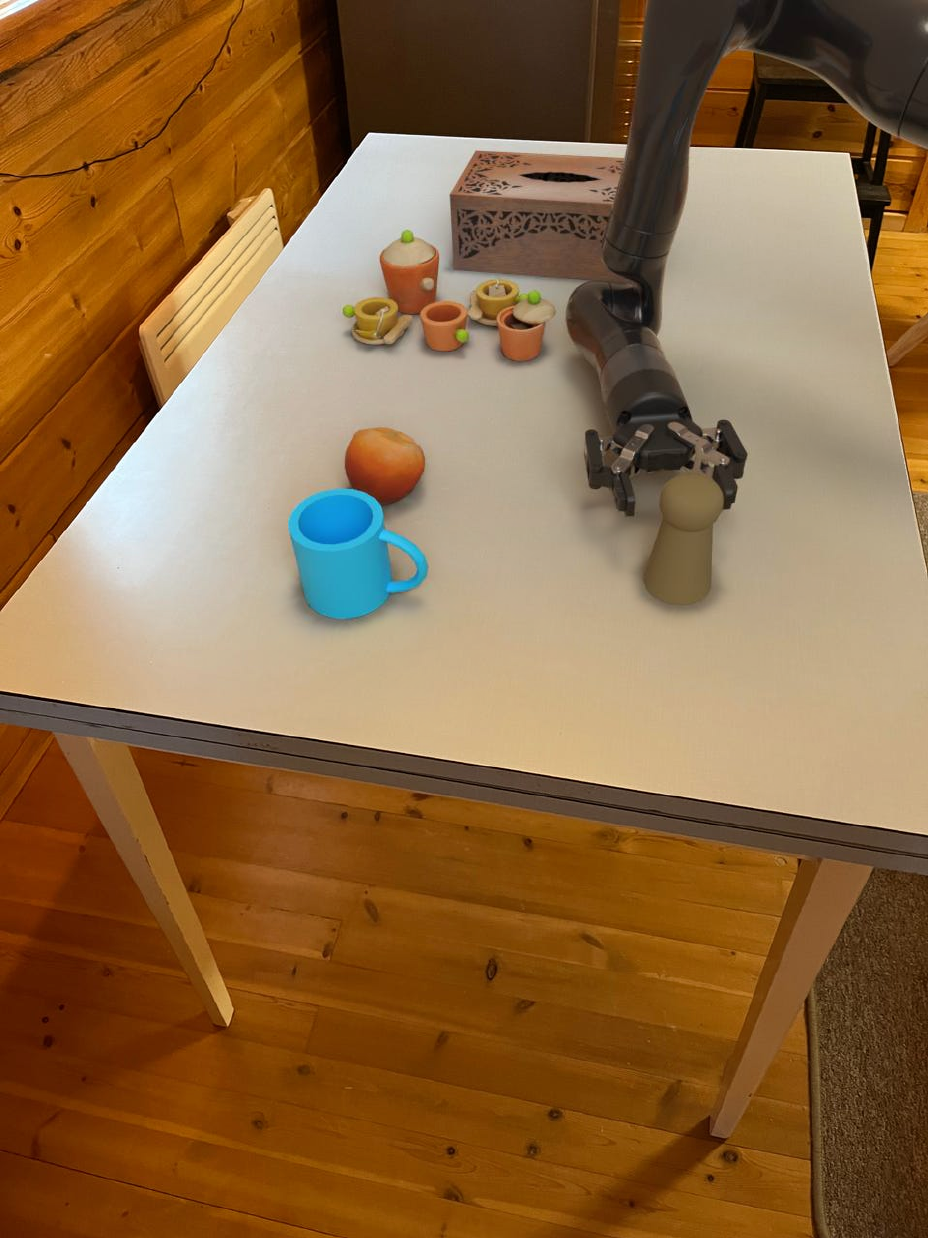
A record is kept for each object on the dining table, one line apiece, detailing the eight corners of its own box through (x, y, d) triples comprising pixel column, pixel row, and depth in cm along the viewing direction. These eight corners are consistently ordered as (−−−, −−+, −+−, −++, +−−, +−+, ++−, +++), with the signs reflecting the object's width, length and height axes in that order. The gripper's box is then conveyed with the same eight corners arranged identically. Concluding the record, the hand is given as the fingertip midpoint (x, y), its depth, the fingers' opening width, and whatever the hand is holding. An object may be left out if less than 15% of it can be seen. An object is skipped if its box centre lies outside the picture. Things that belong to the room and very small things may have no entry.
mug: (290, 610, 83) (272, 543, 77) (323, 550, 89) (308, 482, 83) (417, 632, 81) (409, 565, 75) (443, 569, 86) (437, 501, 80)
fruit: (315, 489, 92) (337, 413, 89) (371, 489, 99) (393, 418, 95) (369, 526, 88) (394, 447, 85) (423, 523, 94) (448, 450, 91)
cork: (640, 557, 86) (653, 462, 78) (706, 557, 86) (726, 461, 78) (646, 605, 82) (660, 509, 74) (716, 604, 81) (737, 509, 73)
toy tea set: (335, 346, 114) (323, 270, 106) (382, 285, 123) (373, 212, 116) (542, 374, 107) (544, 297, 100) (573, 308, 117) (577, 233, 110)
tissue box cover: (453, 269, 126) (449, 194, 118) (478, 222, 135) (475, 150, 128) (645, 283, 121) (653, 206, 113) (656, 234, 130) (664, 159, 123)
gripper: (573, 372, 89) (601, 477, 78) (720, 361, 89) (769, 465, 78) (570, 436, 95) (596, 543, 83) (708, 426, 95) (752, 531, 84)
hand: (679, 505), depth 81 cm, fingers open, 8 cm apart
